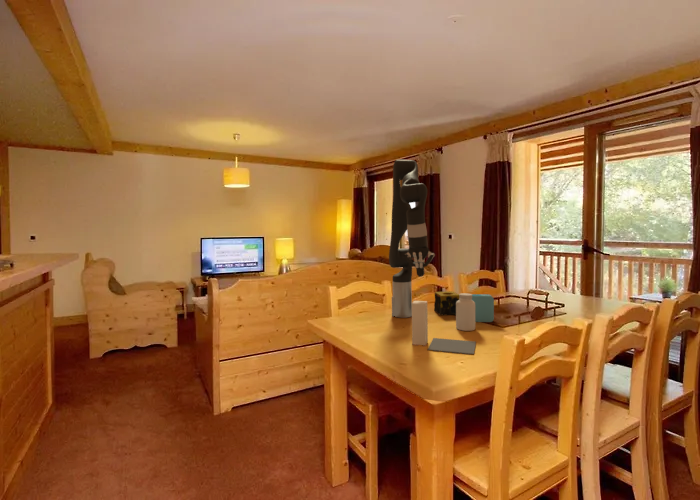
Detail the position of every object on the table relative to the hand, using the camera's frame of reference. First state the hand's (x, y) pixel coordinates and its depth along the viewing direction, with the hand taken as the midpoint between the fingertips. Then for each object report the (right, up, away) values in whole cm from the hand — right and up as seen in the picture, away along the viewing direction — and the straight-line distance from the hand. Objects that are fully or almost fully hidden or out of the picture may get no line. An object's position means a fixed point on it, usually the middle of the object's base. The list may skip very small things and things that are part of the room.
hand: (420, 276), depth 156 cm
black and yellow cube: (+20, -21, +38) cm, 48 cm away
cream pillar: (-2, -25, -9) cm, 27 cm away
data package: (+31, -22, +21) cm, 43 cm away
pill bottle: (+21, -23, +9) cm, 32 cm away
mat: (+9, -25, -14) cm, 30 cm away
